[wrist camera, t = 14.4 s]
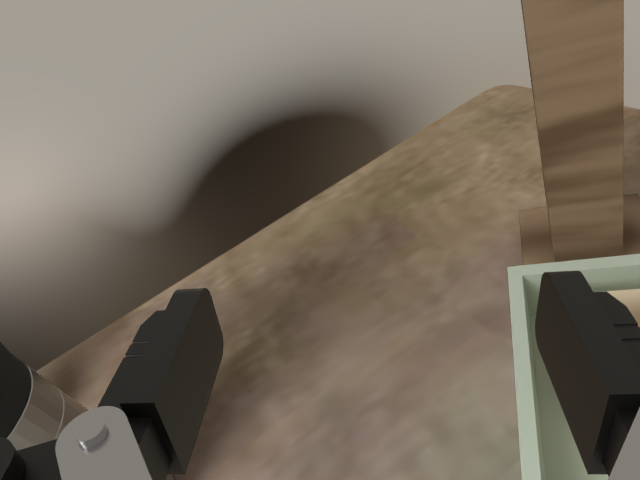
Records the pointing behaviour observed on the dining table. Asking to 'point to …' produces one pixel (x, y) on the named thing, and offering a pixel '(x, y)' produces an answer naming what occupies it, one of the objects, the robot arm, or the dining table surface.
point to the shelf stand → (578, 132)
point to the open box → (532, 377)
